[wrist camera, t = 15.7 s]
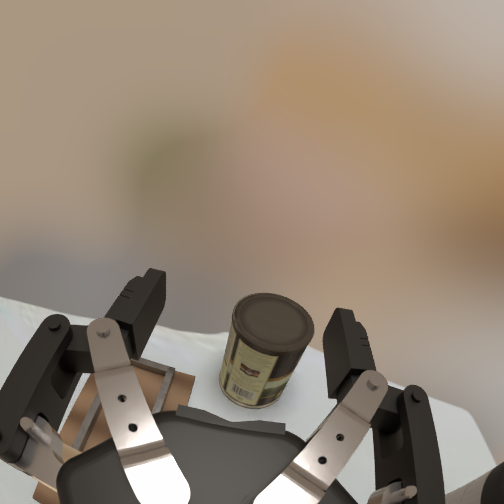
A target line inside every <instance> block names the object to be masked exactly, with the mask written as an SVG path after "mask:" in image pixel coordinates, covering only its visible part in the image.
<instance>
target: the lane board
mask: <svg viewBox="0 0 504 504" xmlns="http://www.w3.org/2000/svg"><path fill="white" fill-rule="evenodd" d="M130 363H131V364H132V366H133V368H134V371H135V374H136V377H137V379H138V382H139V385H140V387H141V390H142V392H143V395H144V397H145V400H146V402H147V405H148V407H149V409H150V412H151V414H154V413H157V412H162V411H170V410H177V408H178V404H180V405H184V406H187V404H188V401H189V397H190V394H191V390H192V387H193V384H194V380H195V376H192V375H188V374H185V373H181V372H177V371H175V368H173V367H169V366H166V365H163V364H159V363H156V362H153V361H150V360H147V359H144V358H141V357H140V359H139V361H137V360H134V359H131V360H130ZM59 435H60V436H61V439H62V441H63V443H65V444H66V445H68V446H70V447H72V448H74V449H76V450H78V451H80V452H84V451H86V450H88V449H90V448H92V447H94V446H96V445H98V444H100V443H101V442H103V441H105V440H107V439H109V438H111V437H112V435H111V432H110V429H109V426H108V423H107V420H106V417H105V414H104V410H103V407H102V404H101V400H100V397H99V393H98V389H97V385H96V381H95V377H94V374H92V373H91V374H90V376H89V378H88V380H87V382H86V383H85V385H84V387H83V389H82V391H81V393H80V395H79V396H78V398H77V400H76V402H75V404H74V406H73V408H72V410H71V412H70V414H69V416H68V418H67V420H66V422H65V424H64V426H63V428H62V430H61V432H60V434H59ZM32 498H34V499H35V500H37V501H38V502H40V503H41V504H60V503H59V498H58V493H57V492H55V491H54V490H52V489H50V488H49V487H47V486H45V485H44V484H42V483H41V482H38V484H37V487H36V489H35V492H34V495H33V497H32Z"/></svg>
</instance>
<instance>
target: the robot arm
mask: <svg viewBox="0 0 504 504" xmlns="http://www.w3.org/2000/svg"><path fill="white" fill-rule="evenodd" d="M165 300H166V272H164V271H161V270H156V269H152V268H149V269H148V271H147V272H146V274H145V275H144V277H140V276H136V277H135V278H133V279H132V280H130V281H129V282H128V283H127V285H126V286H125V287H124V290H123V291H122V292H121V293H120V295H119V296H118V298H117V299H116V300H115V302H114V303H113V305H112V306H111V308H110V309H109V311H108V312H107V314H106V315H105V317H104V318H98V319H96V320H94V321H92V322H91V323H90V324H89V325H88V326H83V325H70V322H69V320H68V318H67V317H65V316H64V315H61V314H54V315H50V316H48V317H47V318H46V319H44V321H43V322H42V323H41V325H40V326H39V328H38V329H37V331H36V332H35V334H34V335H33V337H32V338H31V340H30V341H29V343H28V344H27V346H26V347H25V349H24V351H23V352H22V354H21V355H20V357H19V359H18V360H17V362H16V364H15V365H14V367H13V369H12V370H11V372H10V374H9V376H8V377H7V379H6V381H5V383H4V385H3V386H2V388H1V390H0V459H1V460H3V461H4V462H6V463H7V464H9V465H10V466H12V467H14V468H15V469H17V470H19V471H22V472H24V473H25V474H27V475H29V476H34V477H35V478H37V479H39V480H41V481H42V482H44V483H46V484H48V485H50V486H51V487H53V488H55V489H57V493H58V498H59V503H60V504H358V503H357V502H356V501H355V500H354V499H353V497H352V496H351V495H350V494H349V493H348V492H347V491H346V490H345V488H344V487H343V486H342V485H341V484H340V483H339V482H338V480H337V479H336V477H337V475H338V474H339V473H340V471H341V470H342V469H343V467H344V466H345V465H346V463H347V462H348V460H349V459H350V457H351V456H352V455H353V453H354V452H355V450H356V449H357V447H358V446H359V444H360V443H361V441H362V440H363V438H364V436H365V435H366V433H367V432H368V430H369V428H372V431H373V443H374V459H375V486H376V491H375V492H373V493H372V494H371V496H370V497H369V499H368V503H367V504H504V462H503V463H501V464H500V465H498V466H497V467H495V468H493V469H492V470H490V471H489V472H487V473H485V474H484V475H482V476H480V477H479V478H477V479H475V480H473V481H472V482H470V483H468V484H466V485H464V486H462V487H460V488H458V489H456V490H454V491H452V492H450V493H448V494H446V495H445V491H444V481H443V473H442V466H441V459H440V453H439V447H438V441H437V436H436V431H435V426H434V422H433V417H432V413H431V408H430V404H429V400H428V396H427V394H426V392H425V391H424V390H423V389H422V388H421V387H419V386H416V385H409V386H407V387H406V388H405V389H404V390H400V389H397V388H394V387H392V386H389V385H388V383H387V380H386V378H385V377H384V376H383V375H382V374H381V373H379V372H377V371H376V367H375V363H374V359H373V355H372V351H371V348H370V344H369V341H368V336H367V333H366V330H365V328H364V327H363V326H362V324H361V323H360V322H356V321H355V317H354V314H353V311H352V310H349V309H343V308H336V309H335V311H334V313H333V315H332V317H331V319H330V321H329V323H328V325H327V327H326V329H325V331H324V334H323V349H324V358H325V368H326V377H327V388H328V398H331V399H337V404H336V406H335V407H334V408H333V409H332V411H331V412H330V413H329V414H328V416H327V417H326V418H325V419H324V420H323V422H322V423H321V424H320V425H319V426H318V428H317V429H316V430H315V431H314V432H313V433H312V434H311V436H310V437H309V438H308V439H307V440H306V441H304V440H302V439H301V438H300V437H298V436H296V435H295V434H293V433H291V432H289V431H286V430H285V423H276V422H268V421H261V420H258V421H244V422H230V421H227V420H225V419H223V418H220V417H218V416H216V415H214V414H211V413H209V412H207V411H205V410H201V409H196V408H192V407H188V406H184V405H180V404H178V408H177V410H170V411H162V412H157V413H154V414H151V412H150V409H149V407H148V405H147V402H146V400H145V397H144V395H143V392H142V390H141V387H140V385H139V382H138V379H137V377H136V374H135V371H134V368H133V366H132V364H131V363H130V360H131V359H134V360H137V361H139V359H140V357H141V355H142V352H143V350H144V348H145V346H146V344H147V342H148V340H149V337H150V335H151V333H152V331H153V329H154V327H155V325H156V323H157V321H158V319H159V317H160V315H161V313H162V311H163V308H164V305H165ZM82 373H92V374H94V377H95V381H96V385H97V389H98V393H99V397H100V400H101V404H102V407H103V410H104V414H105V417H106V420H107V423H108V426H109V429H110V432H111V435H112V437H111V438H109V439H107V440H105V441H103V442H101V443H100V444H98V445H96V446H94V447H92V448H90V449H88V450H86V451H84V452H82V453H80V454H78V455H76V456H74V457H72V458H70V459H69V460H67V461H66V462H65V463H64V461H63V457H62V450H63V441H62V439H61V436H60V435H59V434H58V433H57V431H58V429H59V426H60V424H61V421H62V419H63V416H64V414H65V411H66V409H67V407H68V404H69V402H70V400H71V397H72V395H73V393H74V391H75V388H76V386H77V384H78V382H79V380H80V377H81V375H82Z"/></svg>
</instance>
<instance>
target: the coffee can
mask: <svg viewBox="0 0 504 504" xmlns="http://www.w3.org/2000/svg"><path fill="white" fill-rule="evenodd" d="M313 334H314V324H313V321H312V318H311V317H310V315H309V314H308V312H307V311H306V310H305V309H304V308H303V307H302V306H300V305H299V304H297V303H296V302H294V301H293V300H290V299H289V298H287V297H284V296H281V295H276V294H271V293H255V294H251V295H248V296H246V297H244V298H242V299H241V300H239V301H238V302H237V304H236V305H235V307H234V309H233V314H232V323H231V328H230V332H229V337H228V341H227V346H226V350H225V355H224V359H223V364H222V368H221V371H220V375H219V383H220V386H221V389H222V391H223V392H224V394H225V395H226V396H227V397H228V398H229V399H230V400H231V401H233V402H234V403H236V404H238V405H240V406H243V407H247V408H263V407H267V406H269V405H271V404H273V403H274V402H276V401H277V400H278V399H279V397H280V396H281V394H282V391H283V390H284V388H285V386H286V384H287V382H288V380H289V378H290V377H291V375H292V373H293V371H294V369H295V367H296V366H297V364H298V362H299V360H300V358H301V356H302V355H303V352H304V351H305V349H306V347H307V345H308V344H309V342H310V341H311V339H312V338H313Z"/></svg>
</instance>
